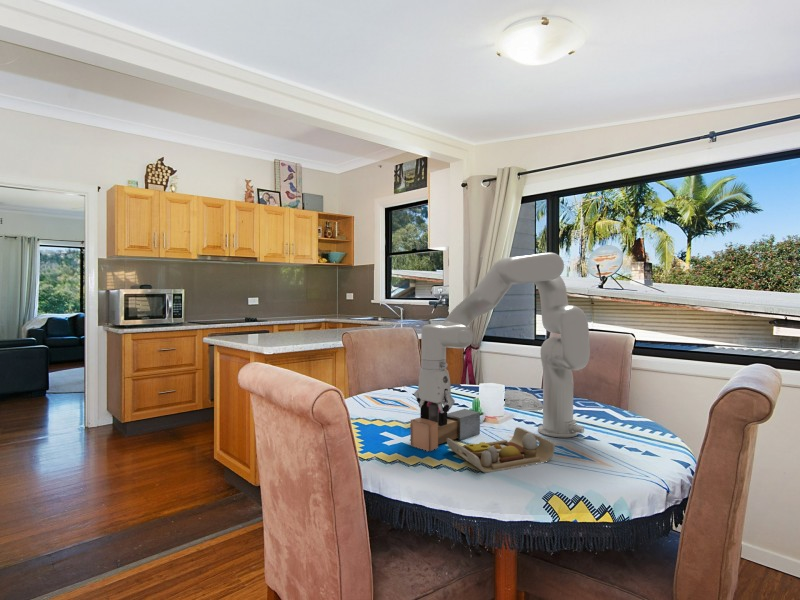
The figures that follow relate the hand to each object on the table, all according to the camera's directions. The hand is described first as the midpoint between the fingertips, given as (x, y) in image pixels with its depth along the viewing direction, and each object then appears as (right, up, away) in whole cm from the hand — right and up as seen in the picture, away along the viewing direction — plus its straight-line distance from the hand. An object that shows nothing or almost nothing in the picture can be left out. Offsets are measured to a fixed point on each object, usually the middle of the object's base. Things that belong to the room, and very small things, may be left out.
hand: (433, 422), depth 145 cm
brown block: (-3, -7, -3) cm, 8 cm away
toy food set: (+18, -8, -11) cm, 22 cm away
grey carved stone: (+38, -6, +51) cm, 64 cm away
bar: (+3, -6, +3) cm, 7 cm away
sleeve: (+10, -7, +10) cm, 15 cm away
